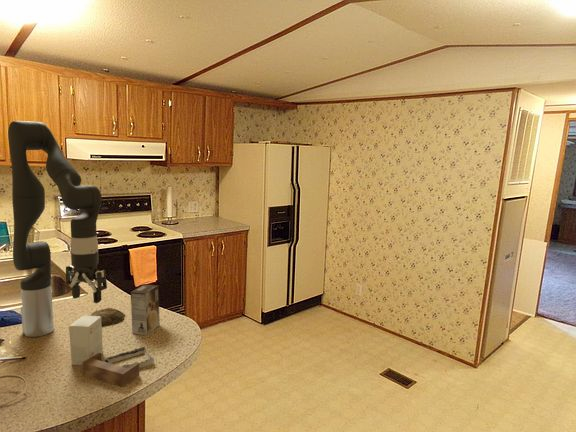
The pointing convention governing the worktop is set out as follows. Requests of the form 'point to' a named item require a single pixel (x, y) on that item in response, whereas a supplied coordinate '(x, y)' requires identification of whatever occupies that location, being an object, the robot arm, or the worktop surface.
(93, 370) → the walnut arch
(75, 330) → the small box
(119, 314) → the bread roll
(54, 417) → the worktop surface
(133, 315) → the coffee box
